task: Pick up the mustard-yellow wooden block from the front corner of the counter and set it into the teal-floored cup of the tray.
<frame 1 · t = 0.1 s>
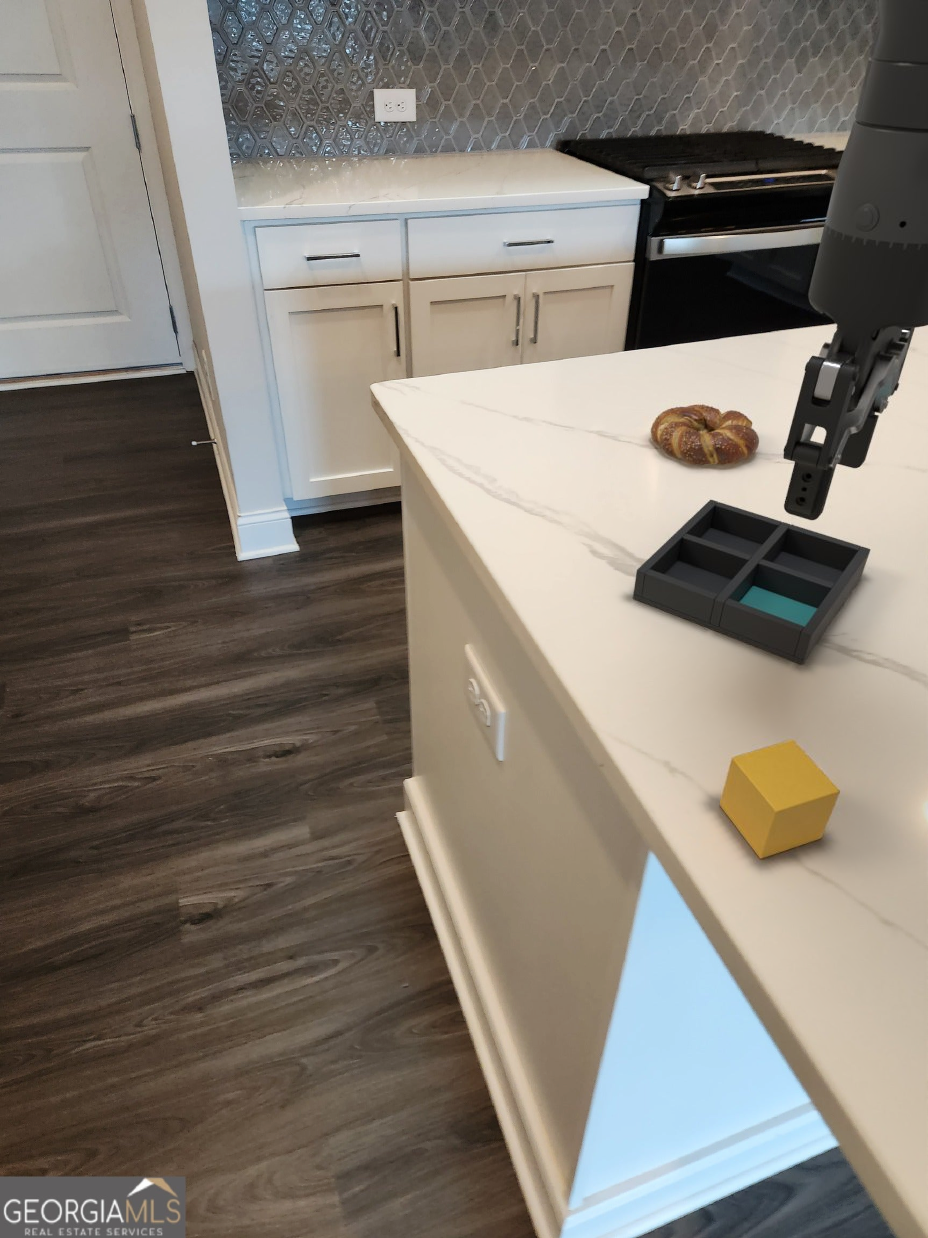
hand: (824, 487, 54), 16 cm above the countertop, tool pointing down, fingers open, 8 cm apart
tray: (748, 587, 72), on the countertop
pretzel: (701, 448, 94), on the countertop
block: (769, 821, 52), on the countertop
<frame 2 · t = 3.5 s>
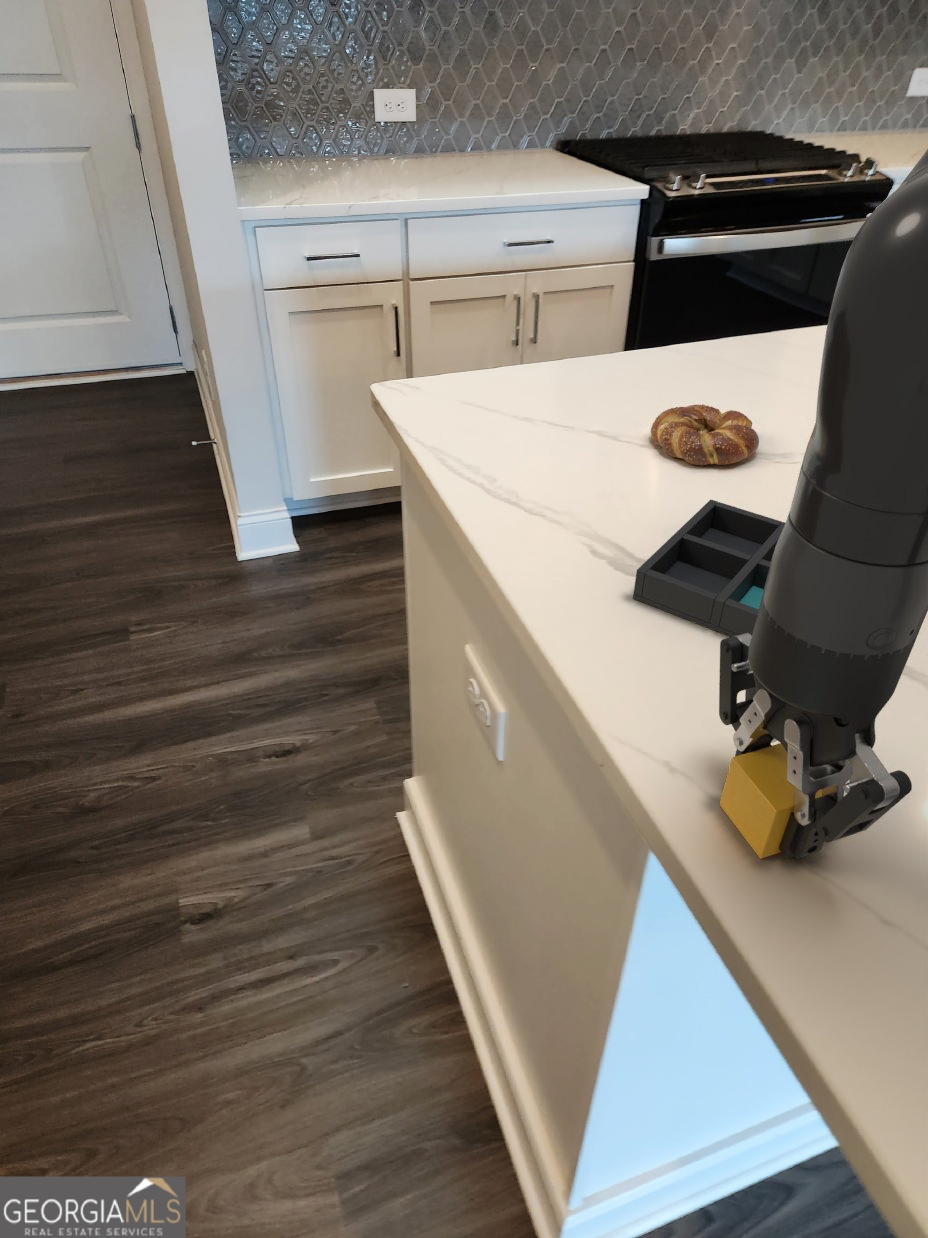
hand: (770, 817, 52), 0 cm above the countertop, tool pointing down, fingers closed on block, 4 cm apart
block: (769, 821, 52), on the countertop, touching gripper
everything else where it was.
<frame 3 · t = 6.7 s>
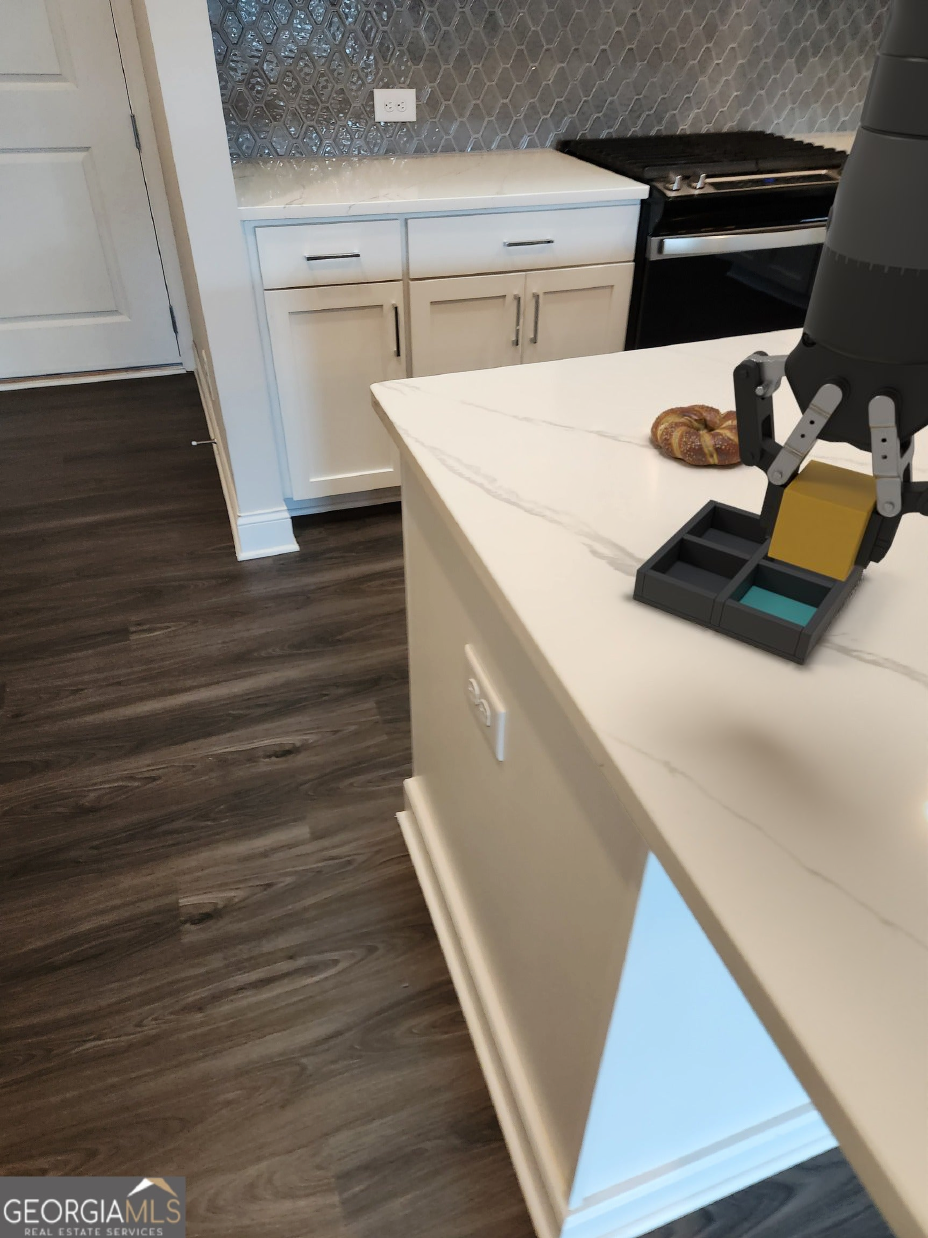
hand: (818, 546, 49), 16 cm above the countertop, tool pointing down, fingers closed on block, 4 cm apart
block: (817, 551, 49), point 15 cm above the countertop, touching gripper
everything else where it was.
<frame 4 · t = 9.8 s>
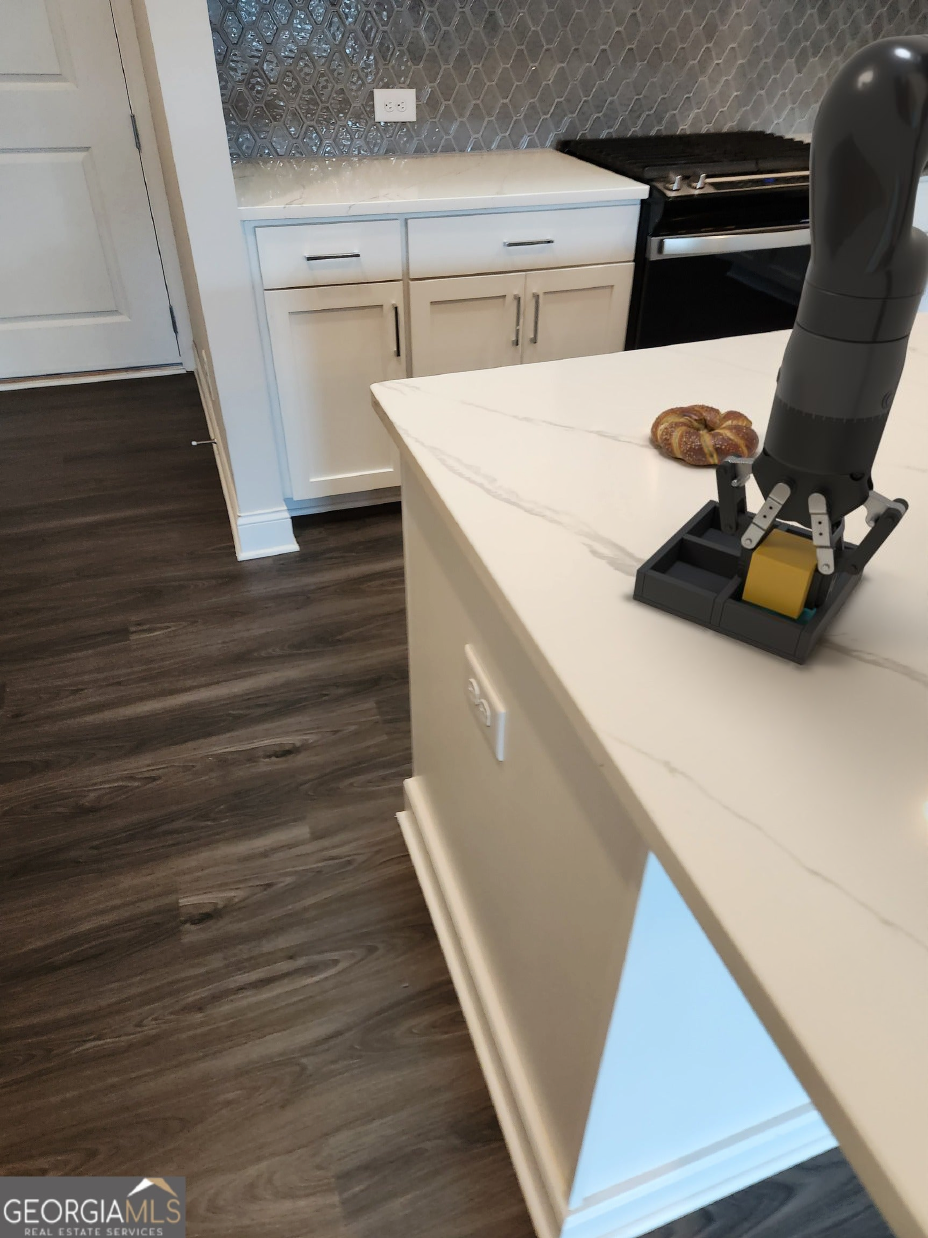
hand: (779, 592, 67), 3 cm above the countertop, tool pointing down, fingers closed on block, 4 cm apart
block: (779, 595, 67), point 3 cm above the countertop, touching gripper
everything else where it was.
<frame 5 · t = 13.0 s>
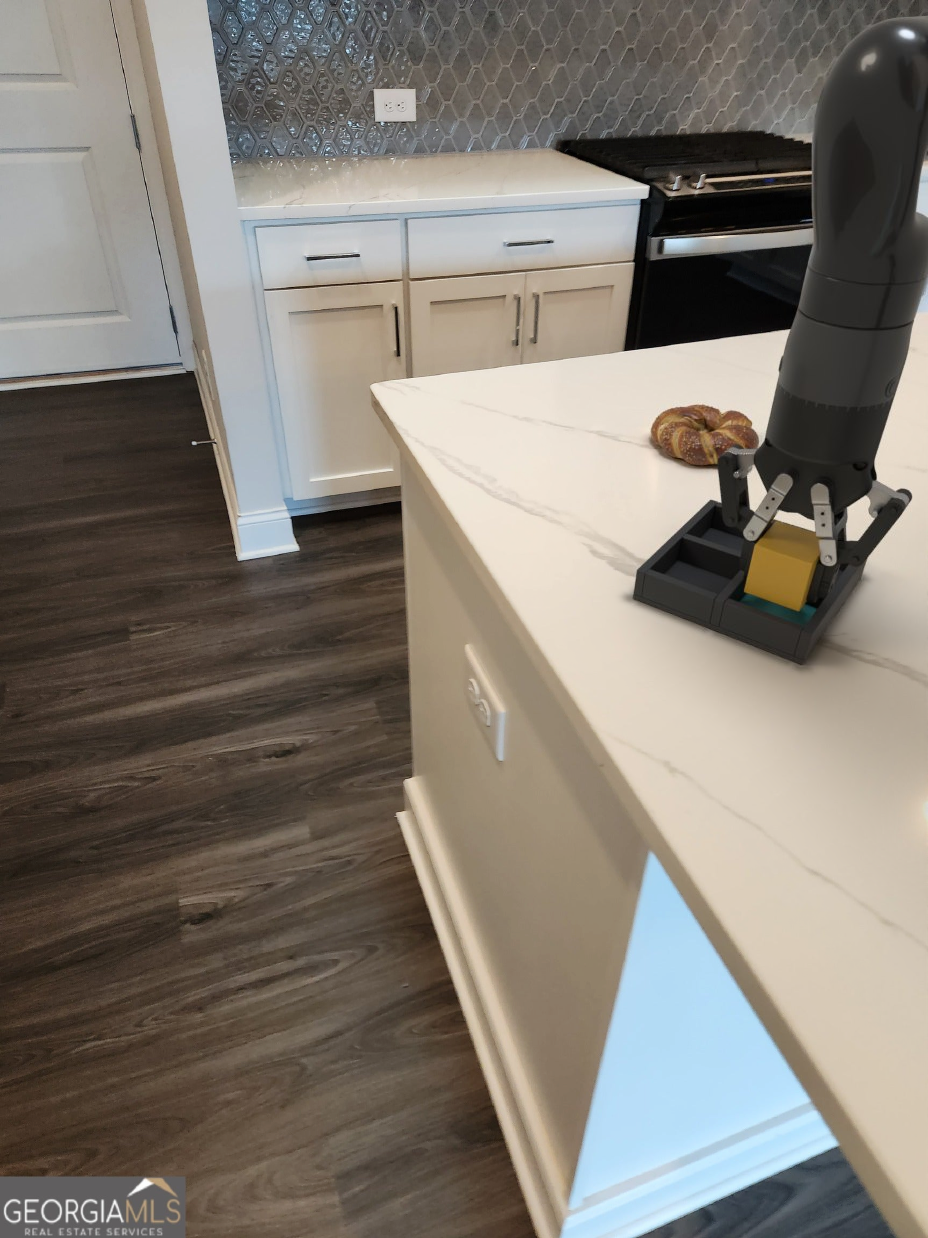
hand: (782, 585, 66), 4 cm above the countertop, tool pointing down, fingers closed on block, 4 cm apart
block: (781, 588, 66), point 3 cm above the countertop, touching gripper
everything else where it was.
when the fingers open (4 cm above the countertop, at t = 15.6 s): block drops 3 cm, resting on tray.
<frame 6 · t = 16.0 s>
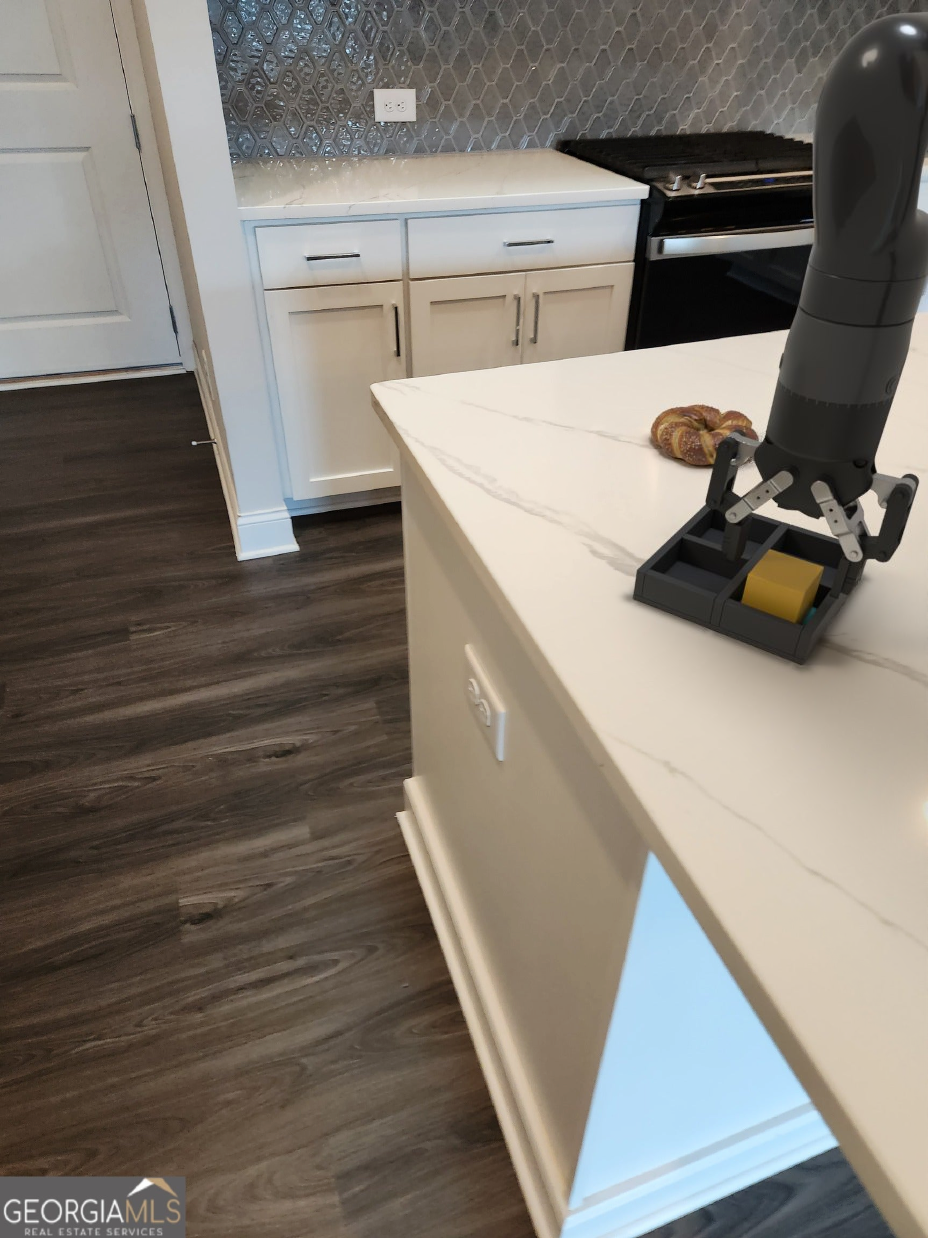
hand: (784, 575, 66), 5 cm above the countertop, tool pointing down, fingers open, 8 cm apart
block: (774, 615, 68), point 1 cm above the countertop, touching tray
everything else where it was.
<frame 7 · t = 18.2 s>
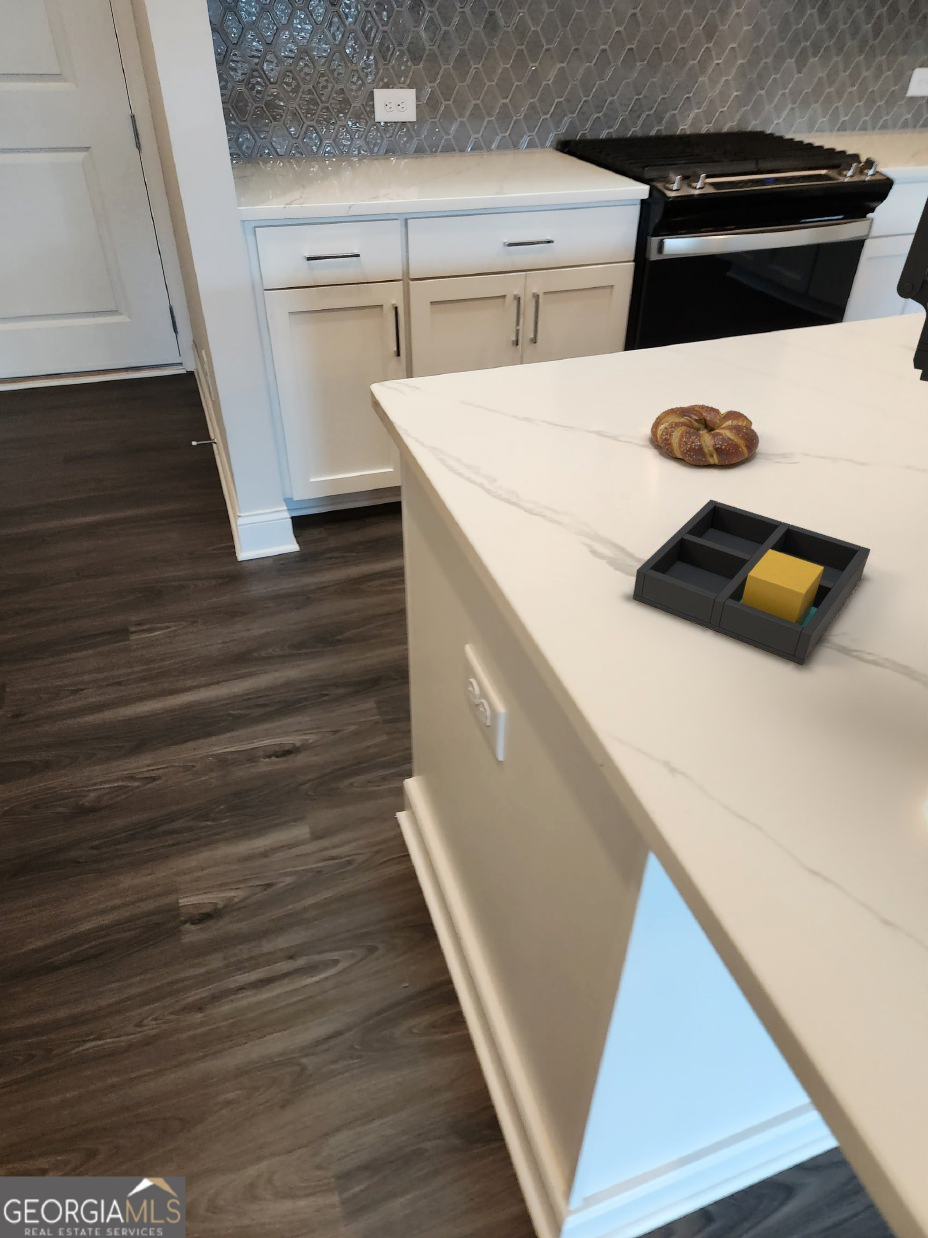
nothing on the countertop moved.
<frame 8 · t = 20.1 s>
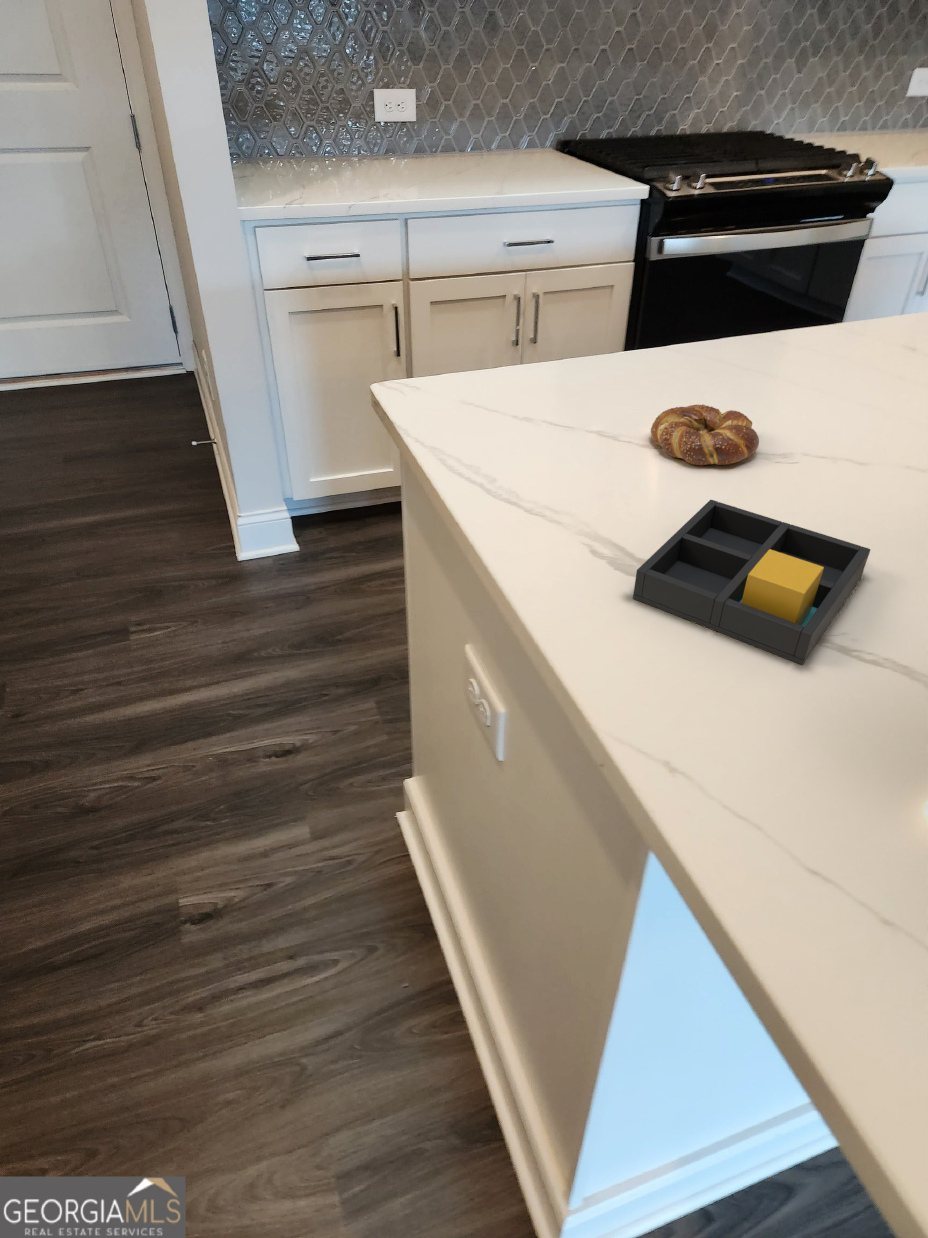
nothing on the countertop moved.
at the end: block 0.1 cm from the target spot in the tray, point 0.7 cm above the tray's base; block tilted 0°; the gripper is holding nothing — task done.
